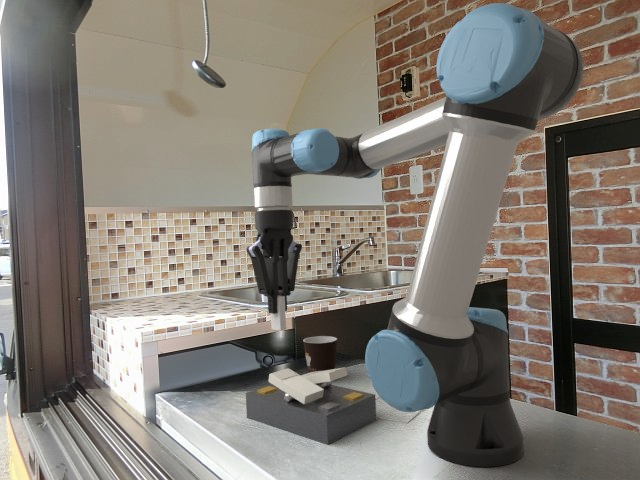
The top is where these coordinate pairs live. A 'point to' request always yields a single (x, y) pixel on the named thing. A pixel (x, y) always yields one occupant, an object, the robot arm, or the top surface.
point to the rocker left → (296, 386)
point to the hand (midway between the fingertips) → (278, 329)
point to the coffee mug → (320, 353)
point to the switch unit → (313, 411)
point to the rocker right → (325, 375)
